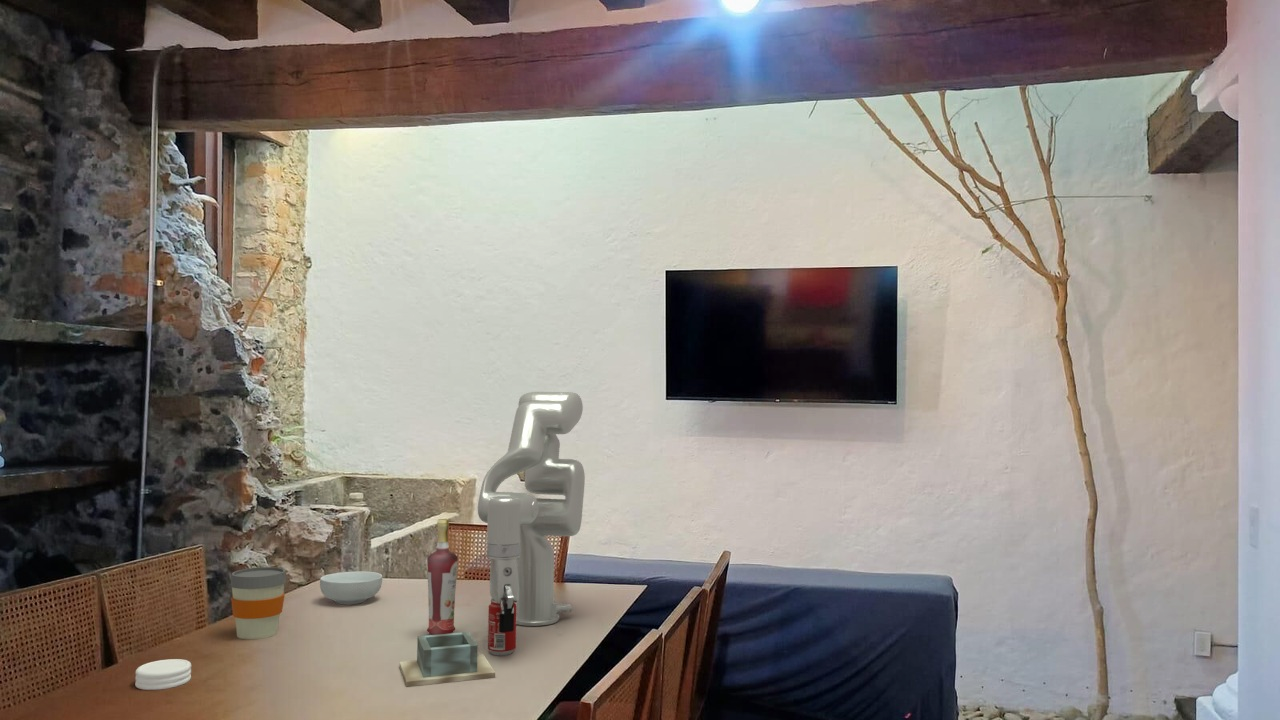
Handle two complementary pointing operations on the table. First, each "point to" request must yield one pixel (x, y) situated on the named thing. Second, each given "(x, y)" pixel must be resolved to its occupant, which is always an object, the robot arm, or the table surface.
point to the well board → (446, 660)
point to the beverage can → (500, 640)
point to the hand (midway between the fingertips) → (501, 626)
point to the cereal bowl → (350, 586)
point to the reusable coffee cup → (257, 601)
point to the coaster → (163, 674)
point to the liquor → (442, 584)
